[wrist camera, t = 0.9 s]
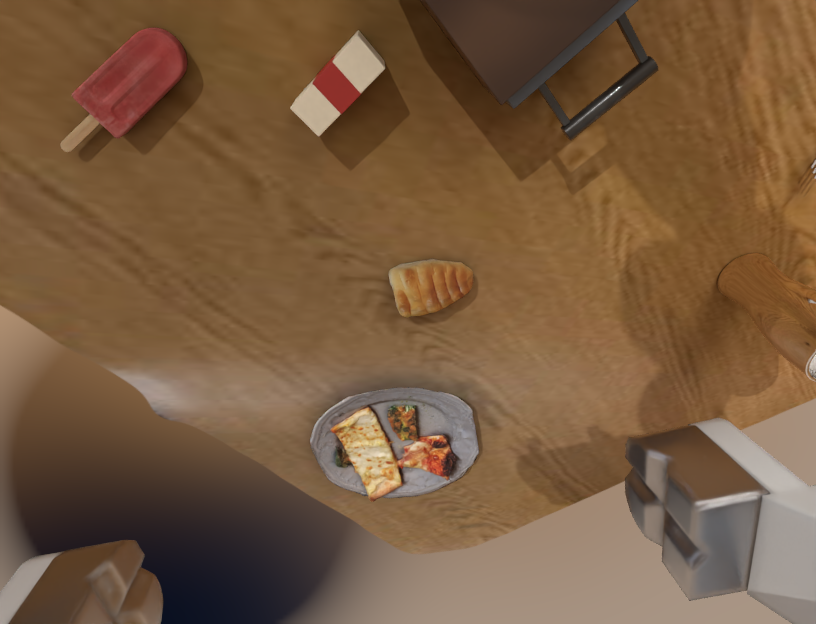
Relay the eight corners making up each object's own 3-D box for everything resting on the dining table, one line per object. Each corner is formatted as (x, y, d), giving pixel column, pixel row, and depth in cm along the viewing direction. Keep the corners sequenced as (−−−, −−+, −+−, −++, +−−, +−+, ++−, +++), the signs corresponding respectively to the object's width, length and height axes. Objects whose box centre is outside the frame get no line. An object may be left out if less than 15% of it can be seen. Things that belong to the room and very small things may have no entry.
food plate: (482, 474, 77) (486, 493, 74) (343, 497, 79) (342, 517, 76) (464, 362, 63) (468, 380, 60) (293, 393, 64) (289, 413, 61)
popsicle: (33, 131, 41) (148, 14, 37) (45, 126, 43) (156, 13, 39) (81, 173, 44) (194, 67, 39) (90, 166, 45) (200, 64, 41)
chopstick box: (358, 29, 40) (356, 34, 37) (385, 61, 41) (386, 68, 38) (295, 98, 43) (289, 108, 40) (322, 126, 44) (318, 137, 41)
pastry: (466, 244, 52) (471, 261, 49) (476, 292, 56) (482, 312, 53) (384, 265, 53) (384, 284, 50) (399, 311, 57) (401, 331, 54)
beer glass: (701, 294, 58) (788, 380, 46) (735, 244, 54) (838, 323, 42) (750, 302, 59) (847, 387, 47) (786, 254, 56) (902, 333, 43)
